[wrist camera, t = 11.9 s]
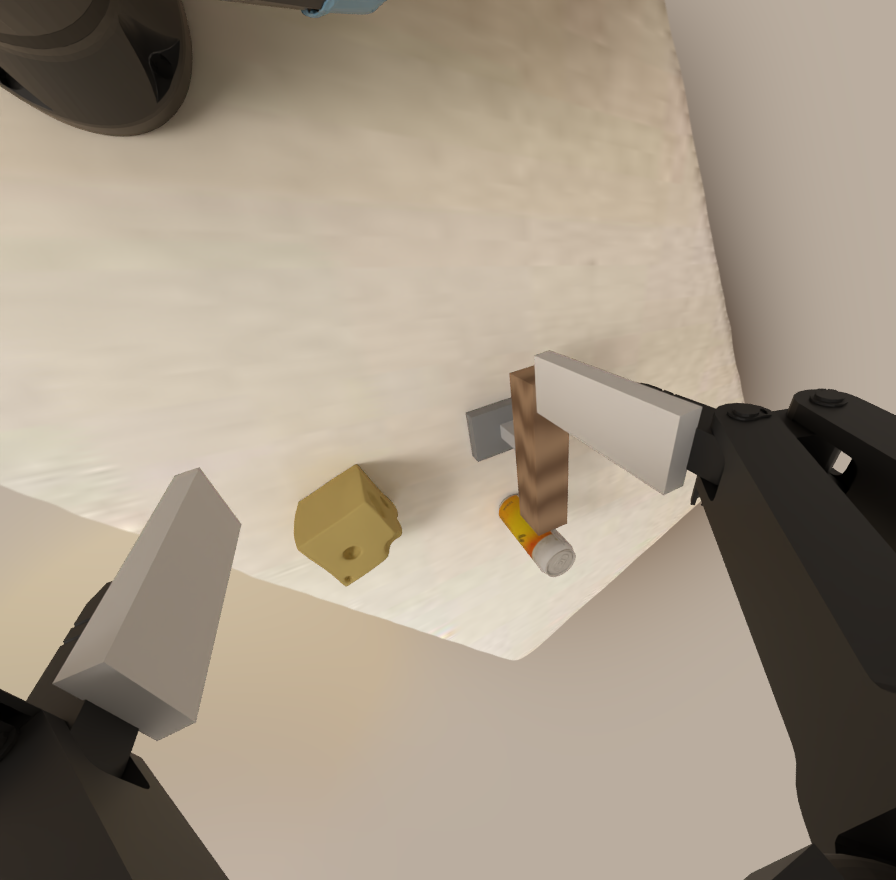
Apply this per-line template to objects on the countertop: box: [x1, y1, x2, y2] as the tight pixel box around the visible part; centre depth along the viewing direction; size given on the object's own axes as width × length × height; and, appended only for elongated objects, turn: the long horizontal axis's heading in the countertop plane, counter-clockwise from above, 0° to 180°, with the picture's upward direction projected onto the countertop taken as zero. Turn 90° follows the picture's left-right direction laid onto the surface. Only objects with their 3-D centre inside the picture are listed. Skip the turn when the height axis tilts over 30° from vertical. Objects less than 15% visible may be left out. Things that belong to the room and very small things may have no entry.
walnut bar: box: [510, 365, 569, 536], centre depth 46 cm, size 24×5×5 cm, turn 10°
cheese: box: [294, 464, 402, 586], centre depth 46 cm, size 10×11×10 cm
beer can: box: [499, 495, 576, 577], centre depth 57 cm, size 6×6×15 cm
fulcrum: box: [466, 398, 515, 462], centre depth 51 cm, size 8×12×8 cm, turn 100°
